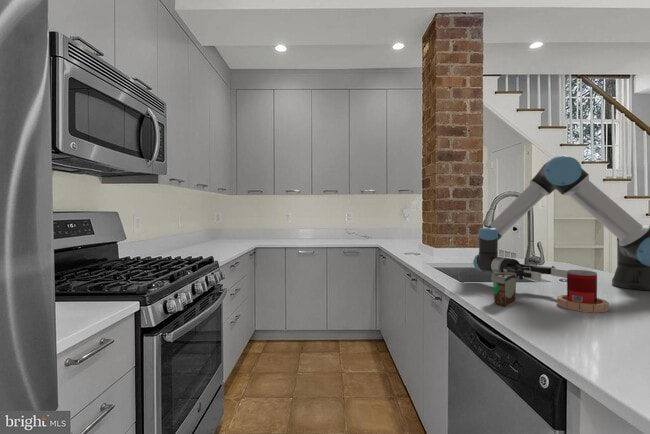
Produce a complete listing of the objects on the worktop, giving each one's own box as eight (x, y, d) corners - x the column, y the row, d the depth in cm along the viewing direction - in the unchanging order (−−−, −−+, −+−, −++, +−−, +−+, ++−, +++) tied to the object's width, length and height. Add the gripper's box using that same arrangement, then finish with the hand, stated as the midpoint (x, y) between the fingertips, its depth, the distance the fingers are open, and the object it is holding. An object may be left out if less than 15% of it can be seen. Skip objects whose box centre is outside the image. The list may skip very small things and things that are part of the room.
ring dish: (584, 301, 125) (585, 294, 125) (619, 311, 112) (619, 304, 112) (548, 302, 124) (548, 295, 124) (578, 313, 111) (578, 305, 111)
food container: (498, 298, 131) (498, 270, 130) (516, 301, 126) (516, 272, 126) (485, 304, 122) (485, 275, 122) (504, 307, 118) (504, 277, 117)
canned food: (601, 308, 113) (602, 273, 113) (573, 307, 115) (573, 273, 115) (589, 302, 121) (589, 270, 121) (563, 301, 122) (563, 269, 122)
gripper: (529, 274, 151) (579, 283, 131) (482, 278, 143) (528, 289, 123) (529, 256, 151) (579, 263, 131) (482, 259, 142) (528, 267, 122)
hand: (554, 275), depth 127 cm, fingers open, 13 cm apart
